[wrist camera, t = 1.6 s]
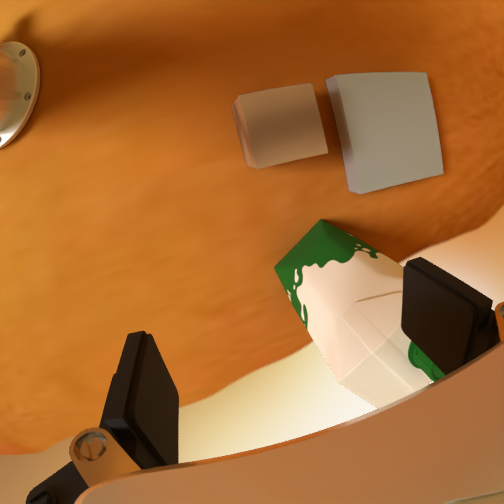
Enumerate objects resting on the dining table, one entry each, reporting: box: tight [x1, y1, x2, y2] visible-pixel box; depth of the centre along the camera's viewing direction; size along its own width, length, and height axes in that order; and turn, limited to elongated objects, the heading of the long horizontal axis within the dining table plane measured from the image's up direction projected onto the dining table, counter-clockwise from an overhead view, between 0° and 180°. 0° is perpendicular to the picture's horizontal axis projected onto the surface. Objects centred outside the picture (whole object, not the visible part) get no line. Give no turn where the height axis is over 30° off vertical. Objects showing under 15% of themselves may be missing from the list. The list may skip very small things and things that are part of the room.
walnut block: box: [231, 83, 328, 169], centre depth 25 cm, size 6×6×6 cm
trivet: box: [325, 72, 444, 194], centre depth 28 cm, size 12×12×2 cm
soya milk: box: [274, 219, 446, 409], centre depth 24 cm, size 9×9×20 cm
